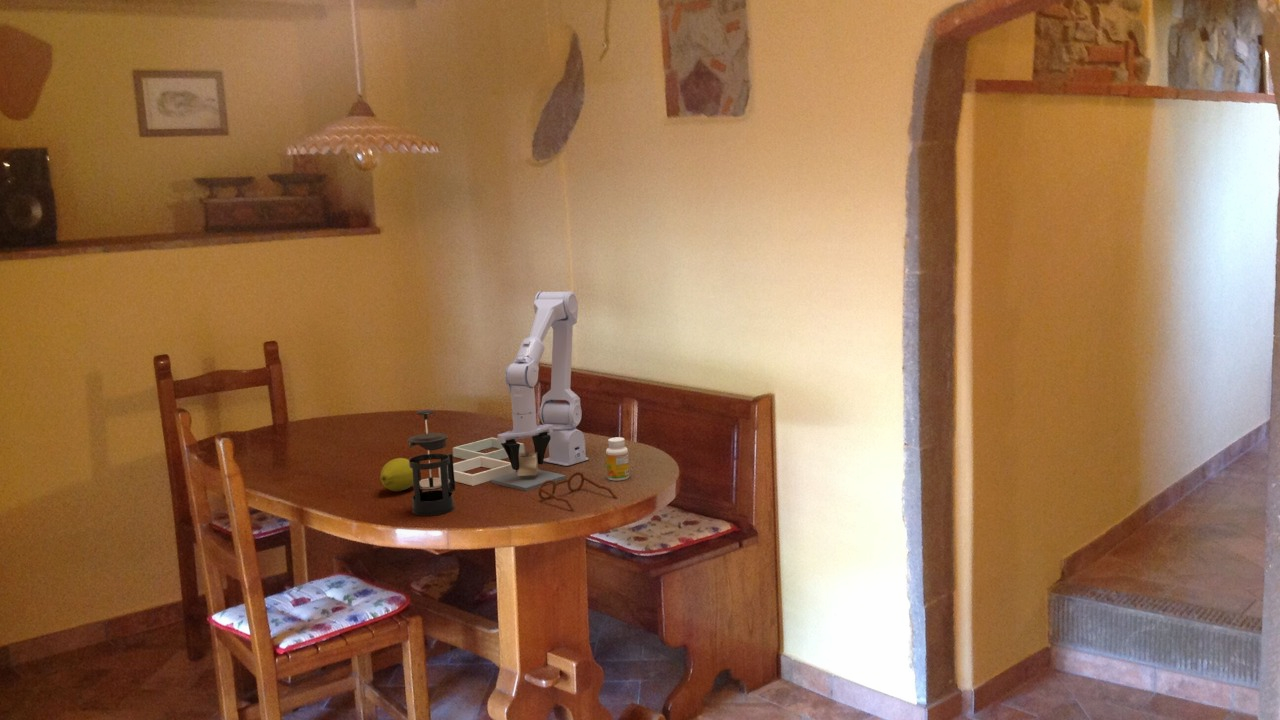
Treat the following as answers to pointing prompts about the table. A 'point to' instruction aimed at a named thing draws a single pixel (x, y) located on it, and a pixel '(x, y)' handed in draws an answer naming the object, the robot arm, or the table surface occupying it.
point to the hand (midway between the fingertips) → (527, 466)
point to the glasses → (569, 488)
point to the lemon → (397, 475)
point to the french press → (435, 499)
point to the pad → (527, 480)
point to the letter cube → (528, 464)
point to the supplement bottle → (617, 459)
